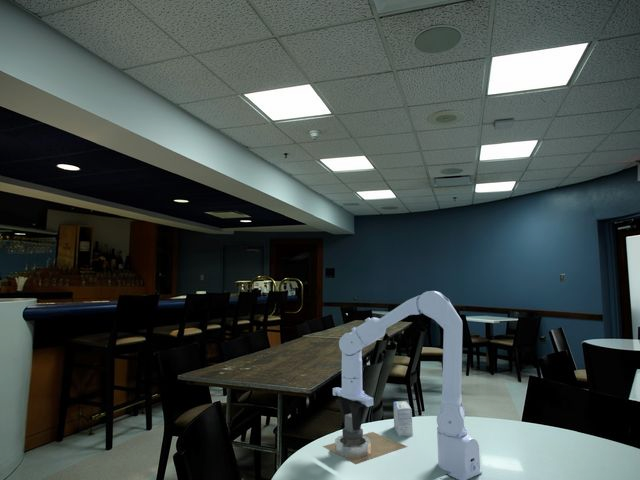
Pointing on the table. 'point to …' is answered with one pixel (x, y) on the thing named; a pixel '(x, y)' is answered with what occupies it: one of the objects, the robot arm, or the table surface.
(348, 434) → the cap
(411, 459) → the table surface
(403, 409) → the medicine box
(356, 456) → the board with octagonal ring
